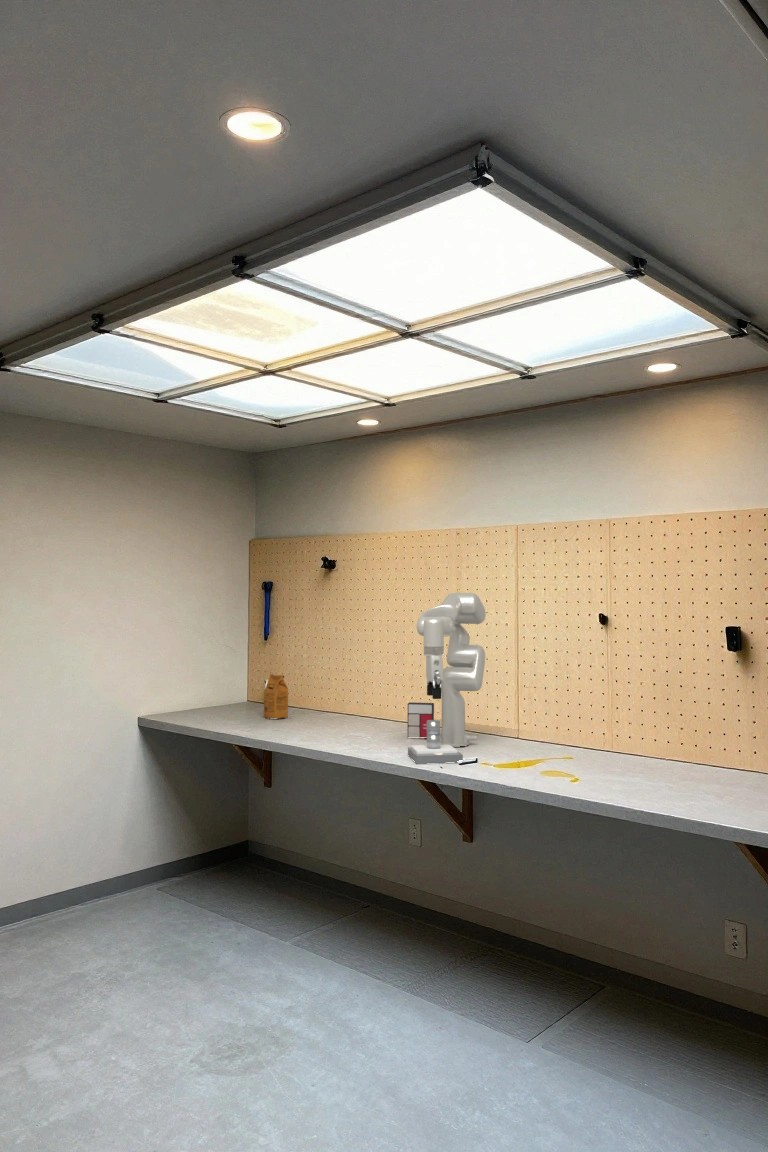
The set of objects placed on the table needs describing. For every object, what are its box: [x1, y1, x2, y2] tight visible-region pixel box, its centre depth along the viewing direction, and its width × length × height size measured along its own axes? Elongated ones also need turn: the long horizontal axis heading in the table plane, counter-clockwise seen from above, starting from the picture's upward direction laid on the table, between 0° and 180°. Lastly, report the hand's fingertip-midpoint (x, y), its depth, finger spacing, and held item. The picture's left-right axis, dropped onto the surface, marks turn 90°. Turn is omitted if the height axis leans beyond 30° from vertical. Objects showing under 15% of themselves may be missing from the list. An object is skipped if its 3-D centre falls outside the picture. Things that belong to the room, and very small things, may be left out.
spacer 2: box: [426, 734, 441, 749], centre depth 307 cm, size 5×5×5 cm
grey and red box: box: [407, 701, 435, 738], centre depth 352 cm, size 11×4×15 cm, turn 80°
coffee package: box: [263, 673, 289, 719], centre depth 413 cm, size 10×12×22 cm
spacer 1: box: [427, 719, 441, 736], centre depth 307 cm, size 5×5×5 cm
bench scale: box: [407, 744, 464, 765], centre depth 305 cm, size 17×17×4 cm
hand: (434, 697), depth 308 cm, fingers open, 9 cm apart
